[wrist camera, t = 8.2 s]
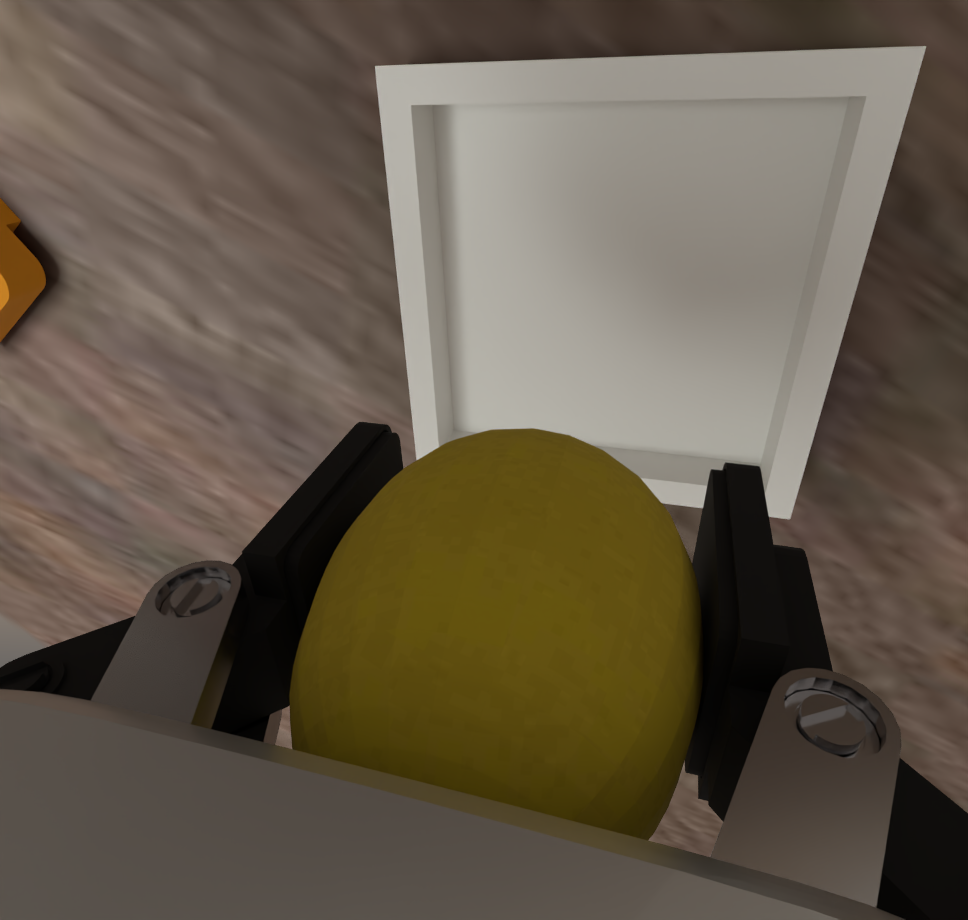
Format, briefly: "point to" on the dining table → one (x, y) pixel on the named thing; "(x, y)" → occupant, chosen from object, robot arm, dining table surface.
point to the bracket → (16, 273)
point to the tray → (638, 248)
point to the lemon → (510, 633)
